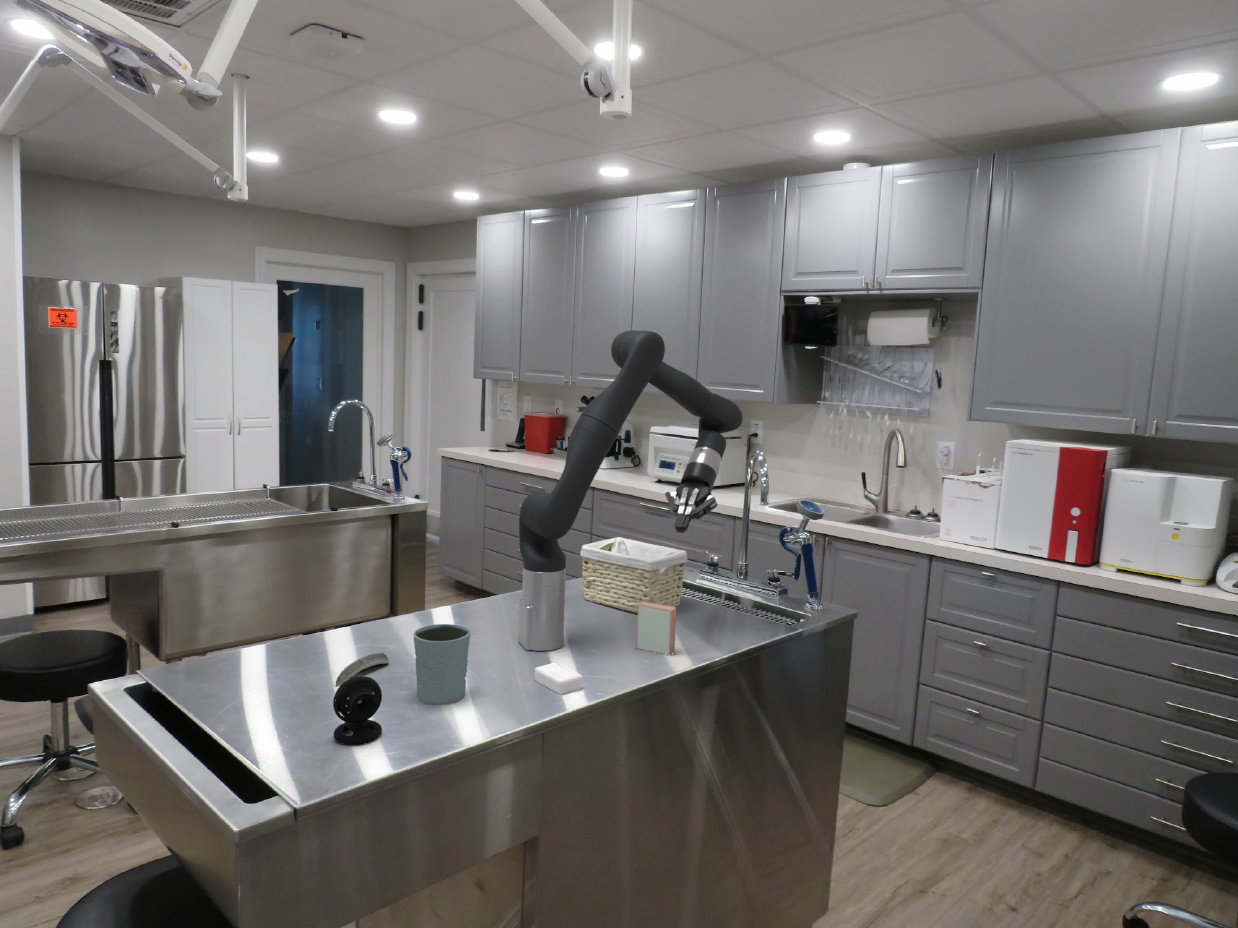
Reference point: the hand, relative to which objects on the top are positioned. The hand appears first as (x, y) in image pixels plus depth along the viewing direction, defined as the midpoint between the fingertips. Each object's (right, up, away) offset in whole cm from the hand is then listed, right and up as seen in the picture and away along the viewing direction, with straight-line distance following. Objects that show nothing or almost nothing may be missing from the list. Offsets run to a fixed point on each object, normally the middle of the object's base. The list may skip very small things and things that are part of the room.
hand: (679, 530), depth 186 cm
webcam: (-56, -30, -51) cm, 82 cm away
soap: (-25, -28, -27) cm, 46 cm away
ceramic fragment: (-64, -26, -25) cm, 73 cm away
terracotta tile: (-6, -26, -7) cm, 27 cm away
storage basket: (-10, -21, +28) cm, 37 cm away
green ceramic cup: (-46, -28, -34) cm, 64 cm away
